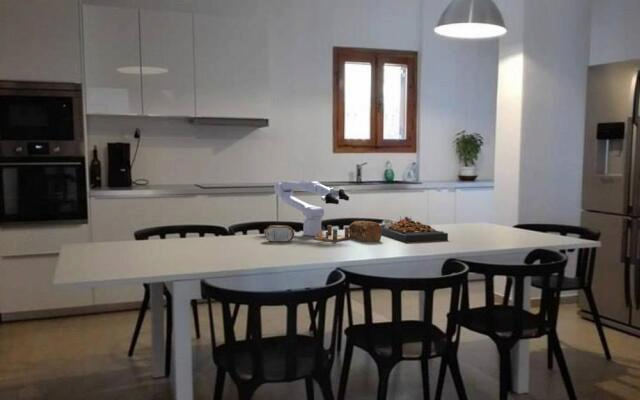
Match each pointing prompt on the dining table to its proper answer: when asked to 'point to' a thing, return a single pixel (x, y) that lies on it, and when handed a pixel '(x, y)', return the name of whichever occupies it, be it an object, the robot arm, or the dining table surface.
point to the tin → (279, 233)
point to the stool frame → (335, 235)
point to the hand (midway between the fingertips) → (343, 200)
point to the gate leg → (321, 234)
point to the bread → (365, 231)
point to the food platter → (411, 231)
